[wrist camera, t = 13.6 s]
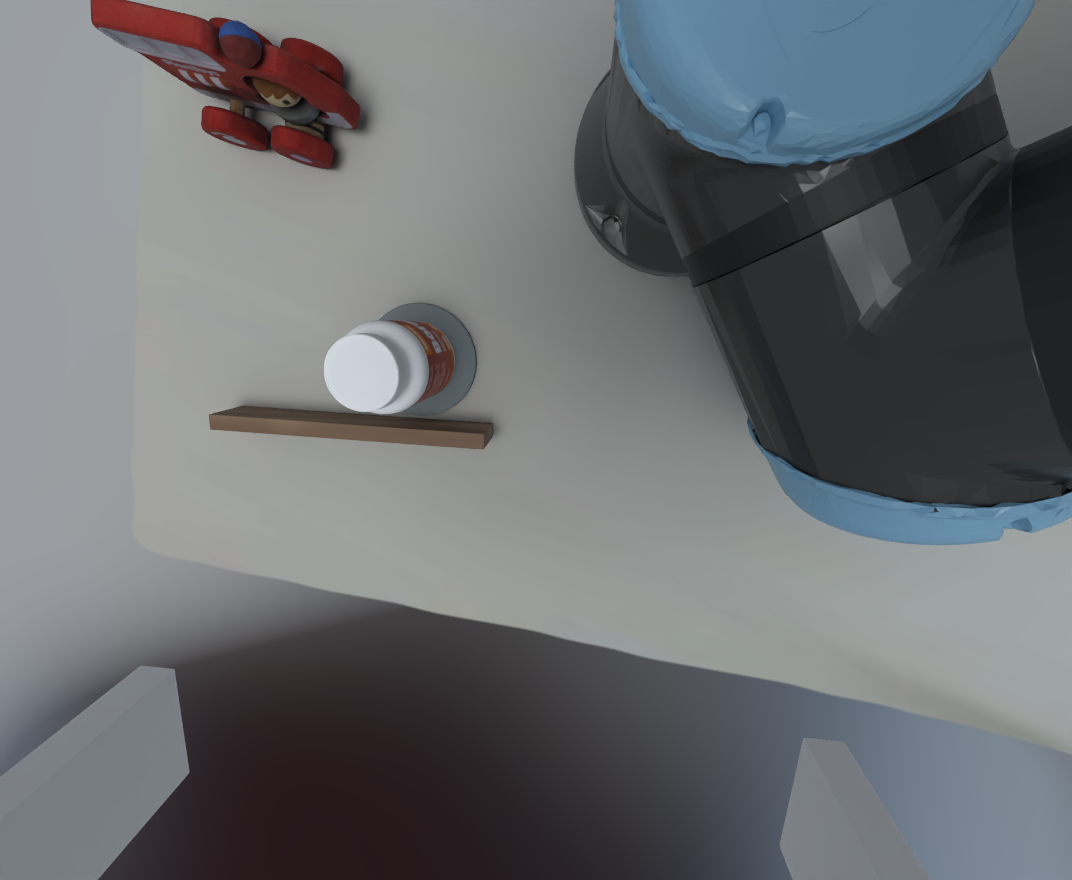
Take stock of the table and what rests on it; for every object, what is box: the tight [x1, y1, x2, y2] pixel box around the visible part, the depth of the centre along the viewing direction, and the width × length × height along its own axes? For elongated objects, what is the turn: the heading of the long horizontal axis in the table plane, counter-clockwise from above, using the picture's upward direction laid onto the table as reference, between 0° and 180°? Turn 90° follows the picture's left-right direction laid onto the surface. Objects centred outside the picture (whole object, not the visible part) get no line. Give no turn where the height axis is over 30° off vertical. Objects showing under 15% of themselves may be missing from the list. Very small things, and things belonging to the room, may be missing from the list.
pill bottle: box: [324, 320, 455, 414], centre depth 35 cm, size 6×6×11 cm
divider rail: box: [209, 406, 493, 449], centre depth 40 cm, size 1×22×4 cm, turn 88°
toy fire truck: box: [91, 0, 360, 169], centre depth 32 cm, size 7×12×10 cm, turn 76°
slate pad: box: [380, 303, 476, 415], centre depth 40 cm, size 9×9×1 cm
